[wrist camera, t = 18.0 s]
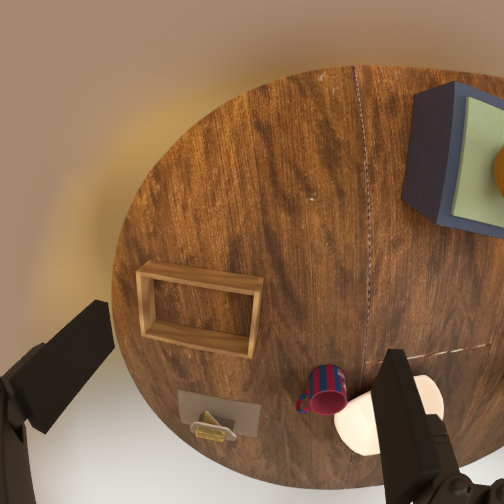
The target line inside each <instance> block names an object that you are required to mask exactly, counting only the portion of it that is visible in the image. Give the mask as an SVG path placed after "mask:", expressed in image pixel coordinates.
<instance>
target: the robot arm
mask: <svg viewBox="0 0 504 504" xmlns="http://www.w3.org/2000/svg"><path fill="white" fill-rule="evenodd" d="M114 348H115V345H114V340H113V334H112V327H111V321H110V314H109V307H108V303H107V302H103V301H99V300H94V301H93V302H92V303H91V304H90V305H89V306H87V307H86V308H85V309H84V310H83V311H82V312H81V313H79V314H78V315H77V316H76V317H75V318H74V319H73V320H72V321H71V322H70V323H68V324H67V325H66V326H65V327H64V328H63V329H62V330H61V331H59V332H58V333H57V334H56V335H55V336H54V337H53V338H52V339H51V340H50V341H49V342H47V343H46V344H45V343H41V344H39V345H37V346H35V347H33V348H32V349H31V350H30V351H29V352H27V353H26V355H24V356H23V357H22V358H21V360H19V361H18V362H17V363H16V364H15V365H13V366H12V367H11V368H10V369H9V370H8V371H7V372H6V373H5V374H4V375H3V376H2V377H0V504H36V501H35V495H34V490H33V484H32V478H31V472H30V464H29V456H28V448H27V447H28V446H27V435H26V427H25V424H24V422H25V421H26V419H27V418H28V420H29V422H30V424H31V425H32V427H33V428H35V429H37V430H38V431H40V432H42V433H44V434H46V433H47V432H48V431H49V429H50V428H51V427H52V425H53V424H54V423H55V421H56V420H57V419H58V417H59V416H60V415H61V414H62V412H63V411H64V410H65V409H66V407H67V406H68V405H69V403H70V402H71V401H72V400H73V398H74V397H75V396H76V395H77V393H78V392H79V391H80V390H81V388H82V387H83V386H84V385H85V383H86V382H87V381H88V380H89V379H90V377H91V376H92V375H93V374H94V372H95V371H96V370H97V369H98V367H99V366H100V365H101V364H102V363H103V361H104V360H105V359H106V358H107V356H108V355H109V354H110V353H111V352H112V350H113V349H114ZM370 394H371V400H372V405H373V411H374V417H375V423H376V429H377V435H378V442H379V449H380V456H381V463H382V471H383V479H384V488H385V497H386V504H410V503H411V502H412V501H413V504H504V479H502V478H501V479H499V480H496V481H495V482H494V483H493V484H492V485H491V486H487V485H479V484H473V483H472V481H471V480H470V478H469V477H468V476H466V475H465V474H462V473H460V471H459V468H458V464H457V461H456V458H455V455H454V451H453V448H452V445H451V443H450V439H449V436H448V435H447V430H446V427H445V424H444V422H443V421H442V420H441V419H440V417H439V416H438V415H437V414H426V412H425V409H424V406H423V403H422V400H421V397H420V394H419V391H418V389H417V386H416V383H415V380H414V377H413V374H412V372H411V369H410V366H409V364H408V361H407V358H406V356H405V353H404V350H401V349H388V350H387V353H386V355H385V358H384V360H383V363H382V366H381V368H380V370H379V373H378V375H377V378H376V380H375V382H374V385H373V387H372V389H371V392H370Z"/></svg>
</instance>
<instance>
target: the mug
mask: <svg viewBox="0 0 504 504" xmlns="http://www.w3.org/2000/svg"><path fill="white" fill-rule="evenodd" d="M307 395H309V405H308V406H307V407H306V408H305V409H303V410H300V404H301V402H302V400H303V399H304V398H305V397H306V396H307ZM347 402H348V401H347V391H346V382H345V374H344V372H343V370H342V369H341V368H339V367H337V366H334V365H323V366H320V367H318V368H316V369H315V370H313V371H312V373H311V374H310V377H309V389H308V390H307V391H305V392H304V393H303V394H302V395H301V396H300V397H299V399H298V400H297V403H296V410H297V411H298V412H299V413H300V414H304V413H307V412H308V411H310V410H312V411H313V412H315V413H317V414H319V415H333V414H336V413H339V412H340V411H342V410H343V409H344V408H345V407H346V405H347Z"/></svg>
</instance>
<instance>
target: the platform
mask: <svg viewBox="0 0 504 504" xmlns="http://www.w3.org/2000/svg"><path fill="white" fill-rule="evenodd" d="M177 394H178V403H179V411H180V419H181V423H185V424H189V425H191V427H190V432H192V433H196V436H197V435H205V436H200V437H202V438H204V437H215V438H206V439H211V440H213V439H218V438H220V439H223V440H224V439H225V440H231V441H236V435H235V434H238V435H244V436H250V437H257V430H258V423H259V416H260V410H261V405H258V404H252V403H245V402H239V401H233V400H228V399H222V398H217V397H212V396H207V395H202V394H197V393H193V392H188V391H184V390H179V389H177ZM197 437H199V436H197ZM223 440H216V441H221V442H223Z"/></svg>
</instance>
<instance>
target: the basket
mask: <svg viewBox="0 0 504 504" xmlns="http://www.w3.org/2000/svg"><path fill="white" fill-rule="evenodd" d="M154 279H158V280H164V281H169V282H175V283H180V284H186V285H192V286H198V287H203V288H209V289H215V290H222V291H228V292H234V293H240V294H247V295H253V296H254V301H253V311H252V320H251V329H250V337H244V336H238V335H232V334H227V333H221V332H216V331H210V330H205V329H200V328H195V327H190V326H185V325H180V324H175V323H171V322H166V321H161V320H157V319H156V310H155V292H154ZM136 280H137V294H138V306H139V317H140V327H141V336H143V337H147V338H151V339H155V340H159V341H164V342H168V343H172V344H177V345H181V346H186V347H190V348H195V349H200V350H205V351H210V352H215V353H220V354H226V355H231V356H237V357H242V358H248V359H252V357H253V353H254V349H255V345H256V341H257V333H258V325H259V317H260V308H261V300H262V292H263V283H264V278H263V277H257V276H250V275H243V274H237V273H230V272H223V271H217V270H210V269H204V268H198V267H191V266H185V265H179V264H173V263H166V262H160V261H154V260H148V261H147V262H146V263H145V264H144V265H142V266H141V267H140V268H139V269H138V270H137V271H136Z"/></svg>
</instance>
